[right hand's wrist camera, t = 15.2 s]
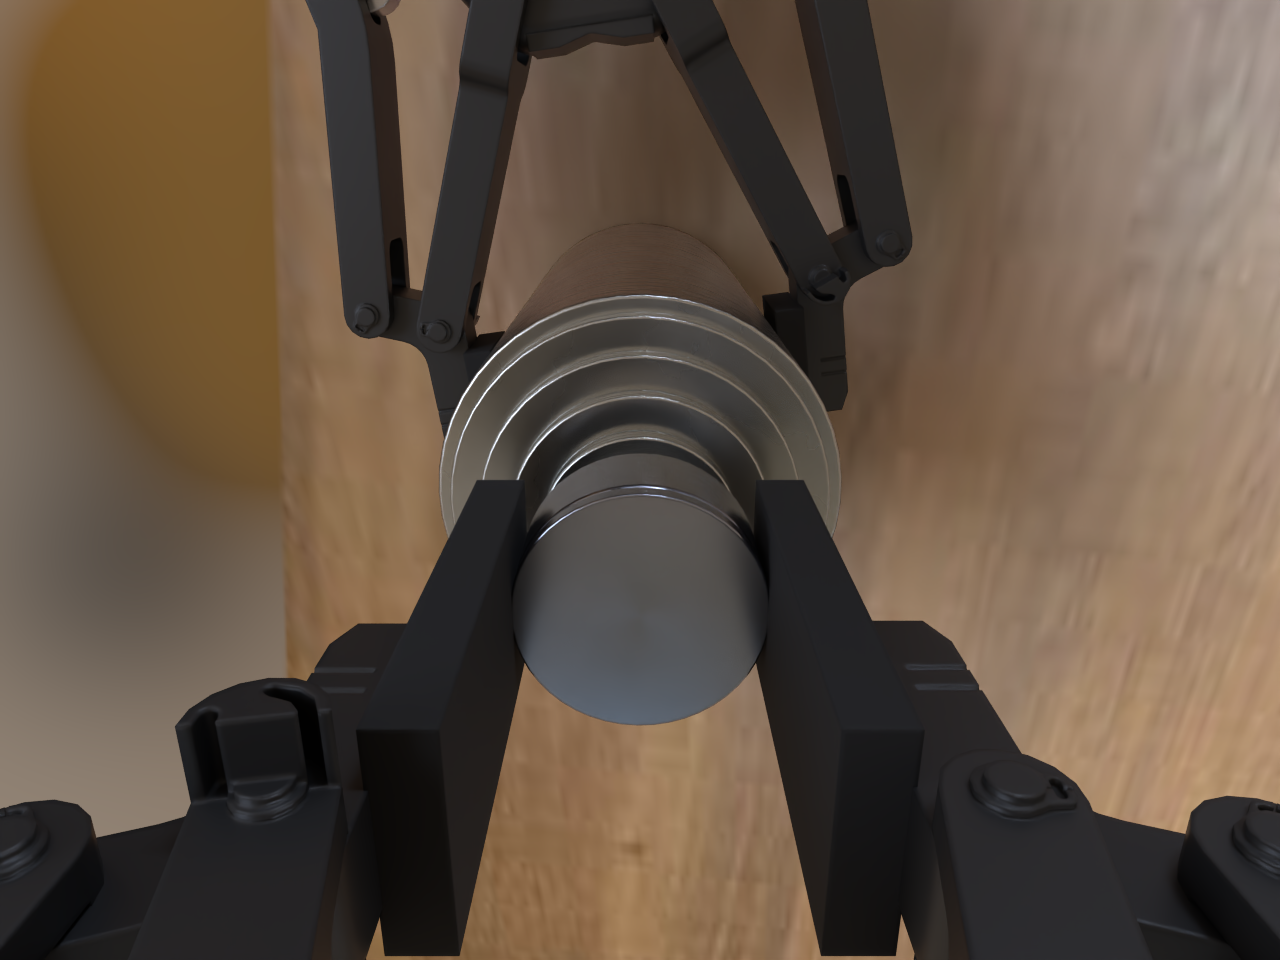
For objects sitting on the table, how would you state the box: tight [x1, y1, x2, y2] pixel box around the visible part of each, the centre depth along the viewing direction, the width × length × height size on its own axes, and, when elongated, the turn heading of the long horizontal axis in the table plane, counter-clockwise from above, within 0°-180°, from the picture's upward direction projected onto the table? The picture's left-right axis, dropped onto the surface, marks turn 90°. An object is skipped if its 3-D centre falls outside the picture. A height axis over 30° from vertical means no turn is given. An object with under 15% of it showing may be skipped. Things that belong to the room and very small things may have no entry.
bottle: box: [439, 223, 842, 538], centre depth 22 cm, size 8×8×20 cm
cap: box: [511, 453, 769, 725], centre depth 14 cm, size 4×4×2 cm
